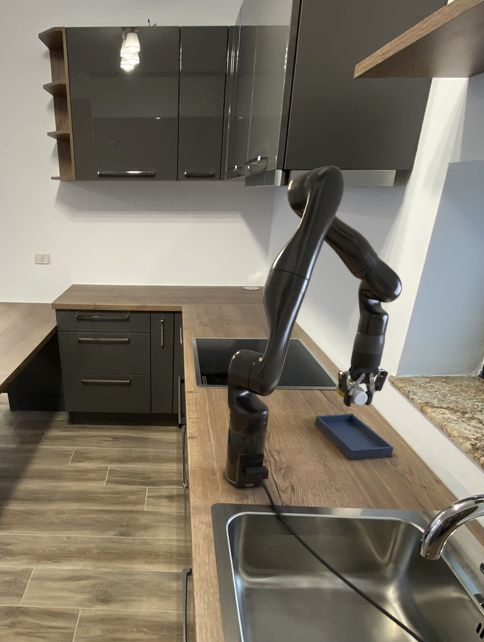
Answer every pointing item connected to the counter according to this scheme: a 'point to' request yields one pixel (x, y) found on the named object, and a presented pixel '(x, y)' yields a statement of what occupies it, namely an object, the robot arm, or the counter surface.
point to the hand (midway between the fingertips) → (357, 404)
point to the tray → (353, 436)
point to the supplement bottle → (355, 395)
